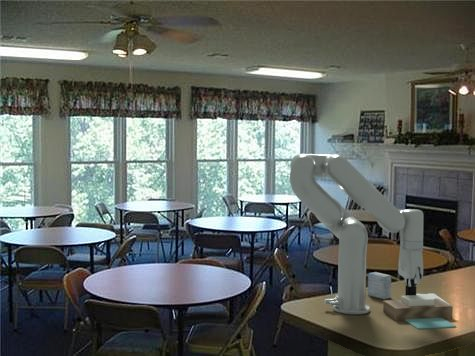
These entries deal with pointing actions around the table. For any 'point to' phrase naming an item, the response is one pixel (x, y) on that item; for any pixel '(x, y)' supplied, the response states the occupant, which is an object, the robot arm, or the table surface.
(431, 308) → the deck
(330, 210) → the robot arm
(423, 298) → the white box
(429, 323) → the mat
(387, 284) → the medicine box
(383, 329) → the table surface
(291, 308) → the table surface
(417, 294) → the smartphone
